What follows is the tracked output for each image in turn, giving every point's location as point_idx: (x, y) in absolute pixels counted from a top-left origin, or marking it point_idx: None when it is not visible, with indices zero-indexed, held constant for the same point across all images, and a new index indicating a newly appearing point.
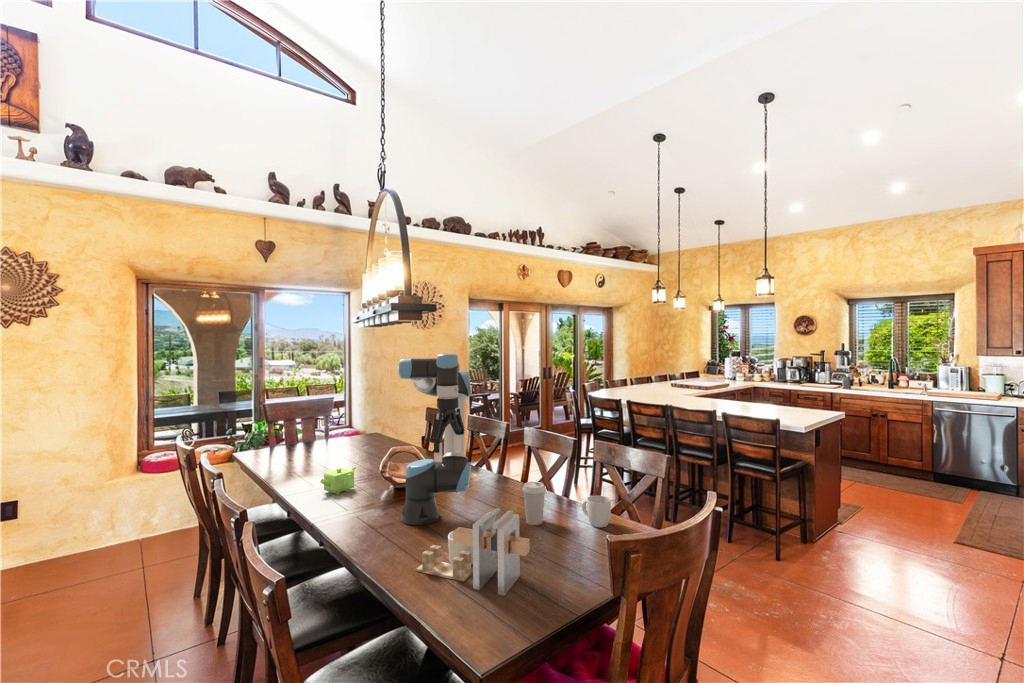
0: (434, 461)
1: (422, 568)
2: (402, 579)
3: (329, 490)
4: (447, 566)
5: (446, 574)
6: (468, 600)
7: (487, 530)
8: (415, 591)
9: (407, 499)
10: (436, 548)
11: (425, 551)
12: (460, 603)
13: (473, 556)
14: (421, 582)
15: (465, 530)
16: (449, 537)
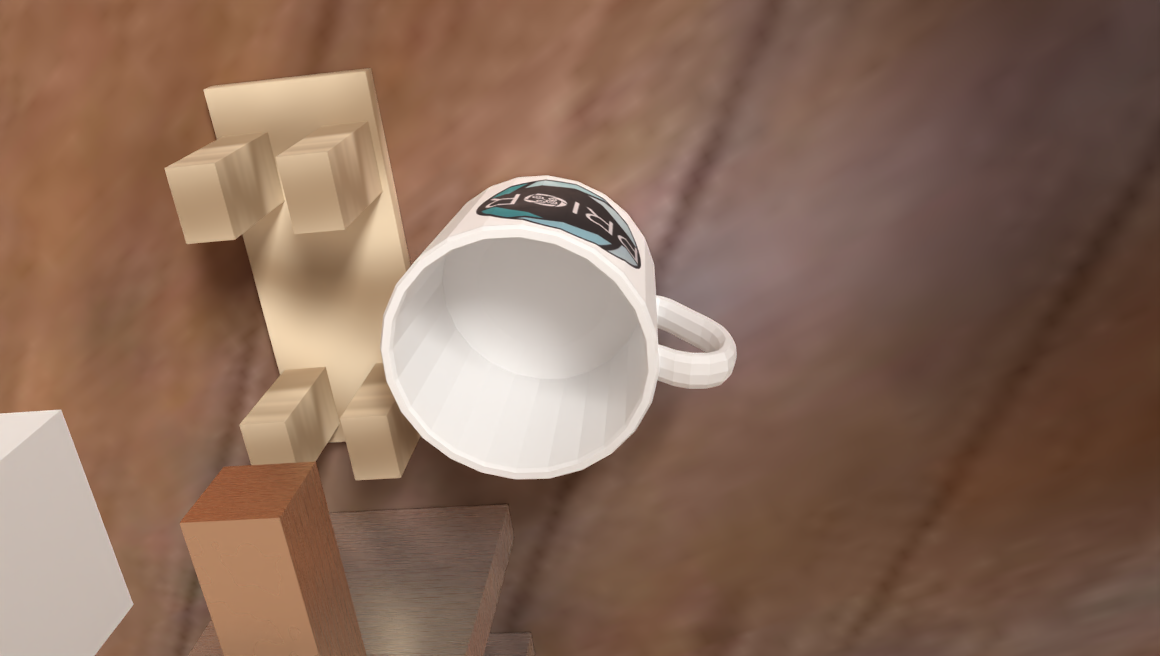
0: (3, 425)
1: (220, 138)
2: (77, 71)
3: None
4: (359, 269)
5: (276, 323)
6: (179, 545)
7: None
8: (46, 249)
9: None
10: (292, 221)
11: (201, 173)
12: (133, 525)
13: (195, 649)
14: (137, 214)
15: (257, 599)
16: (409, 282)
